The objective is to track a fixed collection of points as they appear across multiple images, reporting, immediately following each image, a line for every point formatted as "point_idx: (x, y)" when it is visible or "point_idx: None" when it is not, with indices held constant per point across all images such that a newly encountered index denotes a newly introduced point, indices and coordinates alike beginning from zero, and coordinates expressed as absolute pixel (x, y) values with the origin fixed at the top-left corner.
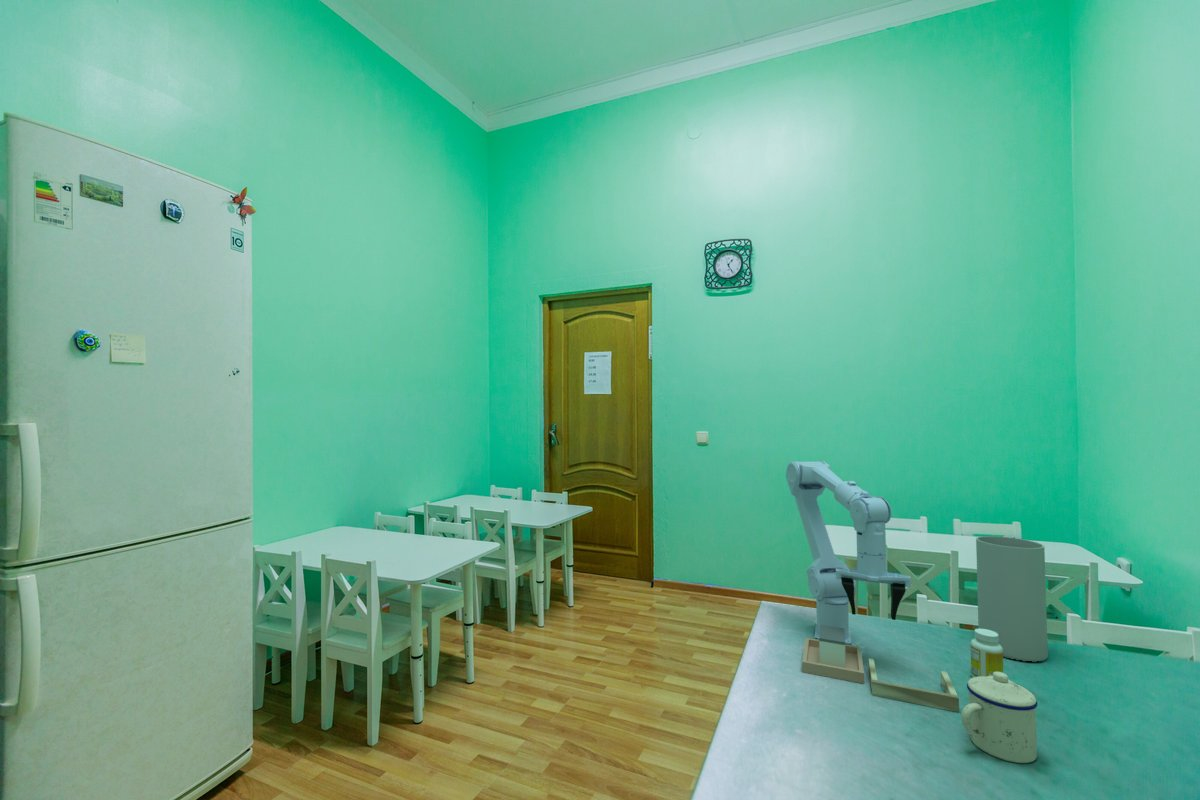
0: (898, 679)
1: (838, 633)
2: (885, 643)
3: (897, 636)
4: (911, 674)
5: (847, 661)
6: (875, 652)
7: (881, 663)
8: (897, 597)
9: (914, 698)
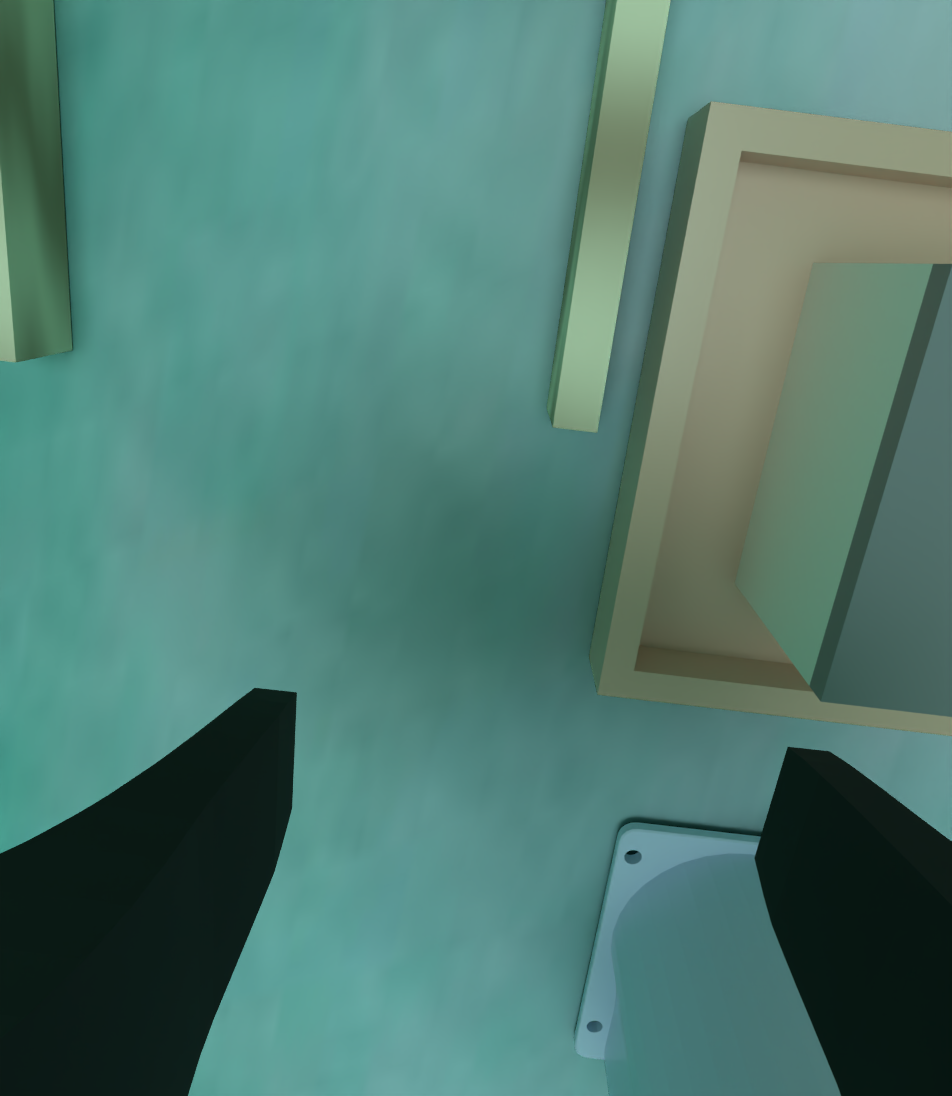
0: (381, 318)
1: (941, 536)
2: (362, 916)
3: (263, 1038)
4: (266, 448)
5: (739, 482)
6: (462, 754)
7: (456, 577)
8: (7, 906)
9: None
